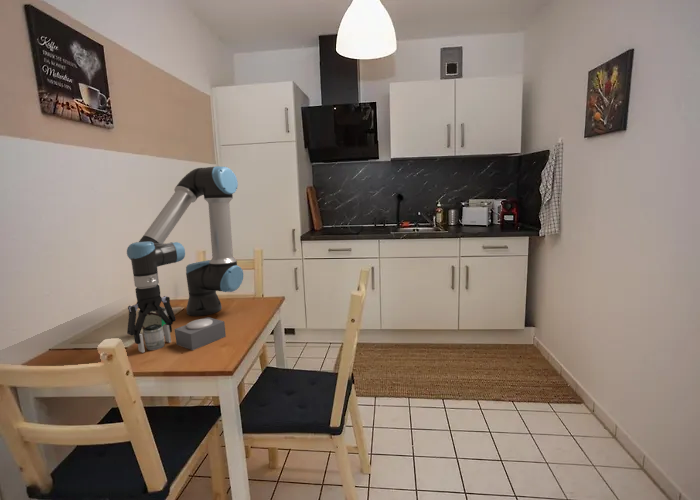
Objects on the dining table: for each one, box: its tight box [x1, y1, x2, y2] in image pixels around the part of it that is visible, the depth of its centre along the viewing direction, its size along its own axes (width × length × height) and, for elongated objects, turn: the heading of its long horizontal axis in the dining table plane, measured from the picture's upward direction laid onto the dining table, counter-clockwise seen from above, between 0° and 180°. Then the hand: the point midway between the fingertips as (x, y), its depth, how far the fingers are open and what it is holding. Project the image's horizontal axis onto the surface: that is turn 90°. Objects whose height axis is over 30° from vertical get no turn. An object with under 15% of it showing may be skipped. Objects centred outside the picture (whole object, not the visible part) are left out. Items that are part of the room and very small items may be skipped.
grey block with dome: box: [174, 316, 227, 351], centre depth 140 cm, size 11×14×7 cm
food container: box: [137, 306, 168, 337], centre depth 149 cm, size 12×6×10 cm, turn 71°
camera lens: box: [142, 324, 166, 351], centre depth 136 cm, size 6×6×8 cm
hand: (155, 346), depth 136 cm, fingers open, 9 cm apart
